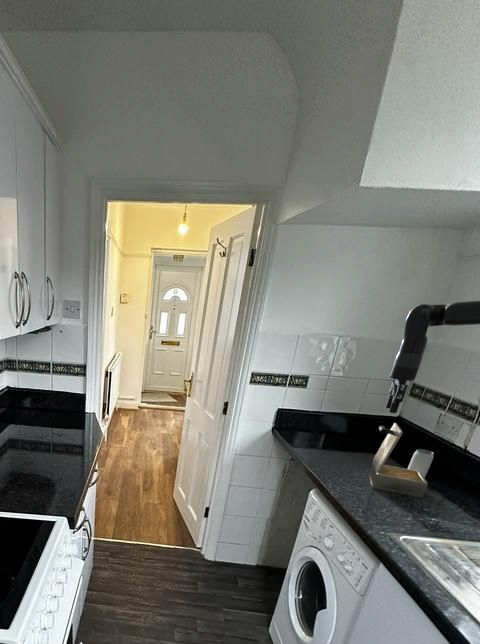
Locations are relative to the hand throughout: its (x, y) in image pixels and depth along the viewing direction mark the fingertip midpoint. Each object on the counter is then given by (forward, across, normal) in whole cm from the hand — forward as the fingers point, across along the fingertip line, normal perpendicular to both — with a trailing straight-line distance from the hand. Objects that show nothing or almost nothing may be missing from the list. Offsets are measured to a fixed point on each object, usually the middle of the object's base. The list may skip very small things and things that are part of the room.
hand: (390, 410), depth 153 cm
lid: (+14, 0, -3) cm, 14 cm away
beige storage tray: (+29, 0, -9) cm, 30 cm away
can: (+29, +15, -18) cm, 37 cm away
